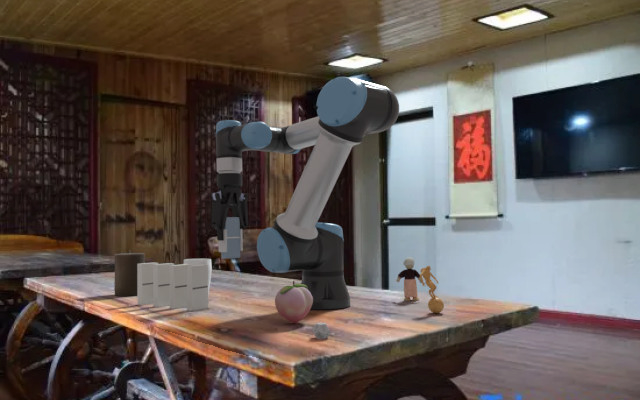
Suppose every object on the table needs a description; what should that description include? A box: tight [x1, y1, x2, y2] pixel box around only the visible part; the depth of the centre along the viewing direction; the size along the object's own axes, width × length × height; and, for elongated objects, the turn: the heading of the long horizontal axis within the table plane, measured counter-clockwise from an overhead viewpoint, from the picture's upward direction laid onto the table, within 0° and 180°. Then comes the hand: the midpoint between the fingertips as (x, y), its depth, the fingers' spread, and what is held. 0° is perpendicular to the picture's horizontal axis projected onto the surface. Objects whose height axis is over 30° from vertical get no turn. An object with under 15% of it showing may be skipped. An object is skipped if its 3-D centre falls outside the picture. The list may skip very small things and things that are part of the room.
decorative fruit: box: [274, 280, 313, 324], centre depth 134 cm, size 9×8×10 cm
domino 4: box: [186, 265, 209, 312], centre depth 158 cm, size 2×6×12 cm, turn 146°
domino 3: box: [169, 263, 191, 310], centre depth 162 cm, size 2×6×12 cm, turn 146°
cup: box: [183, 258, 213, 296], centre depth 184 cm, size 9×9×12 cm
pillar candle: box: [113, 249, 146, 297], centre depth 192 cm, size 10×10×15 cm
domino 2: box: [152, 262, 175, 308], centre depth 166 cm, size 2×6×12 cm, turn 146°
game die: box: [311, 322, 331, 340], centre depth 117 cm, size 4×4×3 cm
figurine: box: [419, 265, 445, 314], centre depth 147 cm, size 8×6×12 cm
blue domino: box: [220, 216, 241, 260], centre depth 169 cm, size 2×6×12 cm, turn 146°
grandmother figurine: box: [396, 256, 422, 302], centre depth 170 cm, size 8×4×13 cm, turn 92°
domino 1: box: [136, 261, 159, 306], centre depth 170 cm, size 2×6×12 cm, turn 146°
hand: (230, 251), depth 169 cm, fingers closed on blue domino, 6 cm apart
